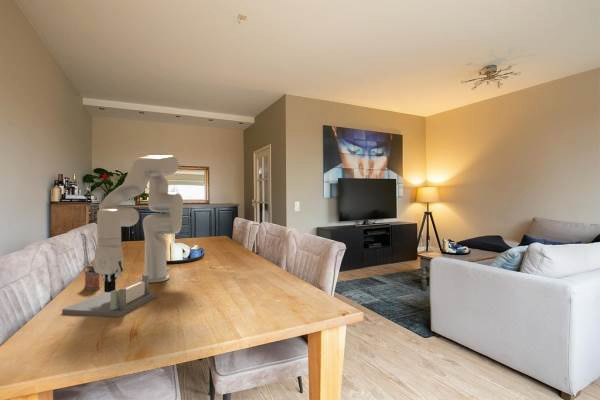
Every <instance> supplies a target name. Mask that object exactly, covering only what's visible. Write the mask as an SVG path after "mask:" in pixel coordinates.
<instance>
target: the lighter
mask: <svg viewBox="0 0 600 400" xmlns="http://www.w3.org/2000/svg"><path fill="white" fill-rule="evenodd" d="M86 269H87V270H85V271H84V289H85V290H88V291H92V292H93V291H99V290H100V289H101V287H100V274H99V273H96V272H95V271H94V265H91V264H89V265H86Z"/></svg>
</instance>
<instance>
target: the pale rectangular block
mask: <svg viewBox="0 0 600 400" xmlns="http://www.w3.org/2000/svg"><path fill="white" fill-rule="evenodd" d="M125 288H126V304H127V303H128V302H130V301H132V300H134V299H136V298H138V297H140V296H142V295H144V294H145V282H143V281H141V280H140V281H138V282H136V283H134V284H132V285H130V286H127V287H125ZM117 308H119V289H115V290H113V291H111V299H110V309H117Z"/></svg>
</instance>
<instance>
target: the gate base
mask: <svg viewBox="0 0 600 400" xmlns="http://www.w3.org/2000/svg"><path fill="white" fill-rule="evenodd" d="M141 278H142V281H143V282H145V294H144V295H142V296H140V297H138V298H136V299H134V300H132V301H130V302H128V303H127V304H126V288H127V287H121V288H119V289H118V290H119V308H117V309H110V299H111V292H109V293H108V292H104V291H103V292H102V293H99V294H97V295H94V296H92V297H90V298H87V299H84V300H82V301H79V302H77V303H74V304H72V305H69V306H67V307H64V308H62V309H61V314H62V315H78V316H91V317H92V316H95V317H106V318H107V317H108V318H109V317H111V318H120V317H122V316H124V315H125V314H128V313H129V312H131V311H133V310H135V309H137V308H139V307H140V306H142V305H144V304H146V303H147V302H150V301H152V300H153V299H156V298H157V292H149V275H145V274H142V275H141Z"/></svg>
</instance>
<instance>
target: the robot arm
mask: <svg viewBox="0 0 600 400" xmlns="http://www.w3.org/2000/svg"><path fill="white" fill-rule="evenodd" d="M179 166H180V164H179V160H178V158H177V157H176V156H174V155H159V154H158V155H157V154H155V155H154V154H153V155H152V154H151V155H144V156H141V157H137V158H135V159H134V160H133V161H132V163H131V165H130V168H129V170H128V172H127V175H126V177H125V179H124V181H123V183H122V184H121V185H119V186H117V187H116V188H115V189H114V190H112V191H111V192H109V193H108V194H107V195H106V196H105V197H104V199H103V200H102V202H101V204H100V206H99V209H98V211H97V214H96V223H97V224H96V230H97V232H96V233H97V234H96V235H97V236H96V237H97V241H96V243H97V245H96V247H95V253H94V259H93V260H94V265H93V266H94V271H95V272H96V273H99V276H101V277H102V281H103V284H104V286H103V289H104V291H103V293H104V292H108V293H109V292H111V291H113V290H116V281H117V280H118V278H120V277H122V272H123V271H124V266H125V265H124V252H123V247H122V227H128V228H129V227H133V226H134V225H136V224H137V223H139V220H140V213H139V211H138V210H137V209H135V208H133V207H122V206H119V205H121V203H123V202H125V201H127V200H130V199H132V198H135V197H137V196H140V195H143V193H145V191H146V190H147V189H146V188H147V186H148V185H149V186H148V187H149V188H148V197H147V198H148V201H147V205H148V209H149V210H150V211H152V212H157V214H156V213H155V214H148V215H146V216H145V217H144V218H143V220H142V228H143V234H144V275H149V283H160V282H165V281H167V280H169V279H170V275H169V274H168V272H170V270H171V268H170V267H167V245H168V244H167V240H166V238H165V237H164V235H177V234H179V233H180V232H181V230H182V225H183V212H184V210H183V209H184V199H183V197H182V194H180V193H179V192H174V191H173V192H169V181H168V179H167V178H166V177H167V176H170V175H174V174H175V173H176V172H177V171H178V170H179ZM161 212H163V214H160V213H161ZM164 212H165V213H166V212H167V213H169V214H164ZM141 281H142V277H141V278H140V282H141Z"/></svg>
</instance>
